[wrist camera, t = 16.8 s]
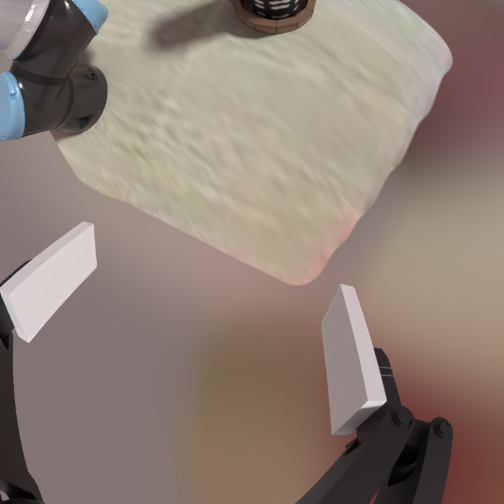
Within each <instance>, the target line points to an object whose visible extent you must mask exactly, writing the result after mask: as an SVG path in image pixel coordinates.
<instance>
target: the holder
mask: <svg viewBox="0 0 504 504" xmlns="http://www.w3.org/2000/svg"><path fill="white" fill-rule="evenodd" d="M231 1H232V3H233V5H234V8H235V10H236V12H237V14H238V16H239V18H240V20H242V21H243V22H244V23H245V24H247V25H248V26H250V27H251V28H253V29H255V30H258V31H261V32H265V33H276V34H277V33H286V32H290V31H293V30H296V29H298V28H300V27H301V26H303V25H304V24H305V23H306V22H307V21H308V20H309V19H310V18H311V17H312V14H313V11H314V7H315V2H316V0H300V2H299V7H298V9H297V11H296V12H295V13H294V14H293V15H292V16H290V17H289V18H286V19H282V20H268V19H264V18H262V17H260V16H258V15H257V14H255V13H254V12H253V10H252V9H251V7H250V3H249V0H231Z"/></svg>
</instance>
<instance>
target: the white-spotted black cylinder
mask: <svg viewBox="0 0 504 504" xmlns="http://www.w3.org/2000/svg"><path fill="white" fill-rule="evenodd" d="M299 2H300V0H249V3H250V7H251V9H252V10H253V12H254V13H255V14H257V15H258V16H260V17H262V18H264V19H268V20H282V19H286V18H289V17H290V16H292V15H293V14H294V13H295V12H296V11H297V9H298V7H299Z"/></svg>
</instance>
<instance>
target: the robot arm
mask: <svg viewBox="0 0 504 504" xmlns="http://www.w3.org/2000/svg"><path fill="white" fill-rule="evenodd" d="M107 17H108V9H107V8H106V7H105V6H104V5H103V4H101V3H100V2H99V1H97V0H0V49H3V50H4V51H5V54H6V56H7V58H8V60H14V61H13V63H12V66H11V68H10V70H9V72H8V71H6V72H3V73H1V74H0V140H1V141H7V140H12V139H19V138H21V137H25V136H28V135H32V134H36V133H39V132H43V131H47V130H52V129H55V130H59V131H63V132H66V133H77V132H82V131H85V130H87V129H89V128H90V127H91V126H93V125H94V124H95V123H96V121H97V120H98V119H99V117H100V116H101V114H102V112H103V110H104V107H105V104H106V100H107V82H106V79H105V76H104V75H103V73H102V72H101V71H100V70H99V69H98V68H97V67H94V66H90V65H78V66H75V65H76V64H77V62H78V60H79V59H80V57H81V56H82V54H83V52H84V51H85V49H86V48H87V46H88V45H89V43H90V42H91V40H92V39H93V37H94V36H95V35H97V34H98V31H99V29H100V28H101V26H102V25H103V23H104V22H105V21H106V19H107ZM96 267H97V261H96V251H95V239H94V224H91V223H87V222H82V223H80V224H79V225H77V226H76V227H75V228H73V229H72V230H70V231H69V232H68V233H67V234H65V235H63V236H62V237H61V238H59V239H58V240H57V241H55V242H54V243H53V244H52V245H50V246H49V247H47V248H46V249H45V250H44V251H43V252H41V253H40V254H39V255H37V256H36V257H35V258H33V259H31V260H29V261H27V262H25V263H24V264H22V265H21V266H20V267H19V268H18V269H16V270H15V271H14V272H13V274H11V275H9V276H8V277H7V278H6V279H5V280H4V281H3V282H2V283H1V284H0V490H1V491H3V492H4V493H6V494H7V496H8V497H9V500H5V501H2V498H1V495H0V504H45V503H44V502H43V500H42V497H41V494H40V491H39V489H38V486H37V484H36V482H35V480H34V479H33V478H32V476H31V475H30V474H29V472H28V469H27V466H26V462H25V459H24V454H23V450H22V445H21V440H20V435H19V429H18V423H17V415H16V407H15V397H14V384H13V334H12V332H11V331H12V330H13V328H14V327H15V329H16V331H17V333H18V336H19V337H21V338H22V339H24V340H25V341H27V342H28V343H29V342H30V341H31V340H32V339H33V337H34V336H35V335H36V334H37V332H38V331H39V330H40V329H41V328H42V326H43V325H44V324H45V323H46V322H47V320H48V319H49V318H50V317H51V316H52V314H53V313H54V312H55V311H56V310H57V309H58V308H59V307H60V306H61V304H62V303H63V302H64V301H65V300H66V299H67V298H68V297H69V295H71V293H72V292H73V291H74V290H75V289H76V288H77V287H78V286H79V285H80V284H81V283H82V282H83V281H84V280H85V279H86V277H88V276H89V275H90V273H91V272H92V271H93V270H94V269H95V268H96ZM321 329H322V336H323V345H324V353H325V361H326V371H327V381H328V391H329V403H330V416H331V430H332V435H350V434H351V433H352V432H353V431H354V430H357V437H356V438H355V439H353V440H352V441H351V442H350V443H348V444H347V445H346V446H345V447H346V448H347V449H346V450H345V451H344V452H343V454H342V455H341V456H340V457H339V459H338V460H337V461H336V462H335V463H334V464H333V465H332V467H331V468H330V469H329V470H328V471H327V472H326V473H325V474H324V475H323V476H322V478H321V479H320V480H319V481H318V482H317V483H316V484H315V485H314V486H313V487H312V488H311V489H310V490H309V491H308V492H307V493H306V494H305V495H304V496H303V497H302V498H301V499H300V500H299V501H298V502H297V503H295V504H369V502H370V501H371V499H372V498H373V497H374V495H375V494H376V492H377V491H378V490H379V491H378V494H377V496H376V499H375V501H374V503H373V504H441V501H442V498H443V494H444V489H445V485H446V480H447V475H448V469H449V463H450V456H451V448H452V439H453V429H452V427H451V424H450V423H449V422H448V420H446V419H445V418H442V417H437V418H434V419H433V420H432V421H431V422H430V423H427V422H424V421H420V420H417V419H414V416H413V414H412V412H411V411H410V410H409V409H408V408H406V407H404V406H402V405H401V402H400V398H399V394H398V391H397V387H396V383H395V380H394V377H393V373H392V370H391V369H390V368H391V366H390V363H389V360H388V358H387V356H386V354H385V353H384V352H383V350H382V349H380V348H373V346H372V342H371V339H370V335H369V332H368V329H367V326H366V323H365V319H364V316H363V313H362V310H361V307H360V304H359V301H358V298H357V295H356V292H355V289H354V287H351V286H347V285H342V284H340V286H339V288H338V290H337V292H336V294H335V296H334V299H333V301H332V303H331V305H330V307H329V309H328V311H327V313H326V315H325V317H324V319H323V321H322V323H321ZM379 488H380V489H379Z"/></svg>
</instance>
